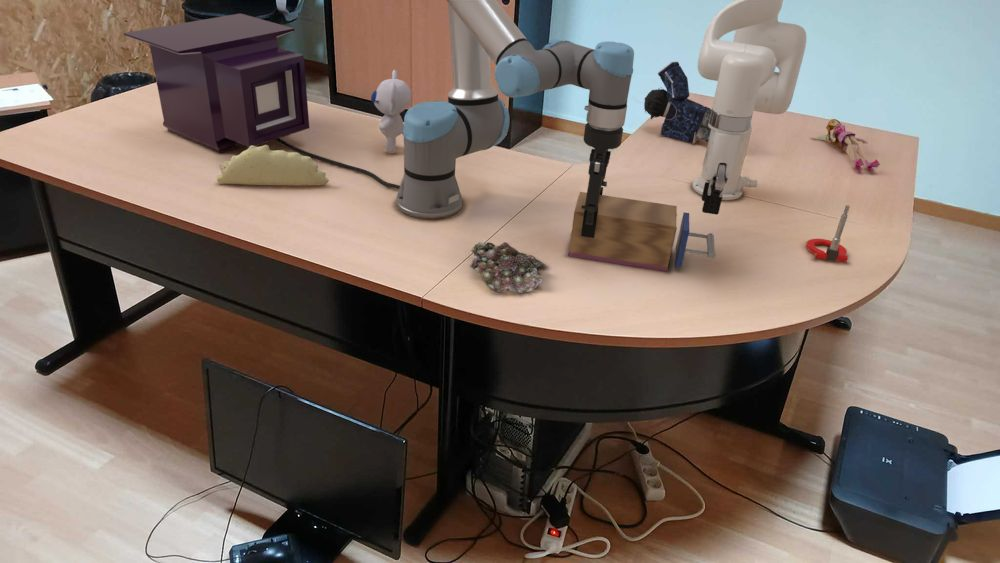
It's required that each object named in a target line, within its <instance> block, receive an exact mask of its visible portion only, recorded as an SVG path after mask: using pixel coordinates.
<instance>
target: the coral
mask: <svg viewBox="0 0 1000 563" xmlns="http://www.w3.org/2000/svg"><path fill="white" fill-rule="evenodd" d="M470 252H472V254H473V260H472V262H471V264H470V265H469V267H470V268H471V269H474V270H475V271H476V272H477V273H478V274H480V275H481V278H482V281H484V284H485V285H486V286H487V287H488V288H489V290H490V291H492V292H494V293H497V294H502V293H504V292H512V293H518V294H522V293H523V294H524V293H526V292H529V293H530V292H532V291H534V290H535V289H536V288H537V287H539V285H541V284H542V283H543V276H542V275H539V274H538V269H537V268H540V267H546V266H547V264H546V263H544V262H542V261H541V260H539V259H537V258H536V257H535V256H533V255H531V254H527V253H524V252H520V251H519V250H518V249H516V248H515V247H512V246H511V245H510V244H509V243H508V242H506V241H503V242H502V243H501V244H500V245H495V243H492V242H483V241H481V242H477V243H476V244H474V245H473V247H471V249H470Z"/></svg>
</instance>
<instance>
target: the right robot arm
mask: <svg viewBox="0 0 1000 563" xmlns="http://www.w3.org/2000/svg"><path fill="white" fill-rule="evenodd" d="M783 2H784V0H733V1H731V2H730V3H728V4H727V5H725V6H724V7H723V8H722V9H721V10H720V11H718V12H717V13H716V14H715V15H714V17H713V18H712V19H711V20H710V22H709V24H708V25H707V28H706V30H705V32H704V36H703V39H702V43H701V47H700V51H699V54H698V59H697V71H698V74H699V75H700V76H701V77H702V78H703V79H706V80H710V81H715V82H716V88H715V91H714V92H715V93H714V97H713V101H712V106H711V114H710V119H709V124H708V126H709V127H710V128H711V132H710V137H709V141H708V142H707V146H706V150H705V154H704V158H703V162H702V169H701V173H700V176H699V177H697V178H695V179H694V180H693V181H692V185H691V186H692V189H693V190H694V192H696V193H697V194H699V195H700V196H701V201H702V202H703V204H702V208H701V212H702V213H703V214H708V215H709V214H710V215H719V213H720V210H721V204H722V202H723V201H734V200H737V199H739V198H741V197H742V196H743V190H744V188H757V186H758V180H757V179H750V176H742V175H741V174H742V170H743V166H744V162H745V157H746V154H747V150H748V146H749V142H750V139H751V134H752V129H753V128H752V118H753V114H754V112H758V113H764V114H771V115H782V114H785V113H786V112H787V111H788V110H789V108H790V106H791V103H792V101H793V97H794V94H795V91H796V86H797V82H798V79H799V74H800V71H801V67H802V63H803V60H804V56H805V51H806V46H807V32H806V30H805V28H804V27H803V26H801V25H798V24H796V23H790V22H782V21H779V20H778V18H779V15H780V14H779V13H780V12H781V10H782V7H783ZM733 31H734V35H733V36H734V37H733V41H730V40H723V39H721V38H722V37H724V36H725V35H727V34H728V33H731V32H733ZM776 68H778V70H779V71H775V70H776Z"/></svg>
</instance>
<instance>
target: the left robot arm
mask: <svg viewBox="0 0 1000 563" xmlns="http://www.w3.org/2000/svg"><path fill="white" fill-rule="evenodd" d="M445 1H446V2H447V5H448V8H447V10H448V21H449V24H448V25H449V37H450V38H449V39H450V51H451V65H452V66H451V67H452V77H453V78H452V82H453V87H452V88H451V90H450V91H449V92H448V93H447V101H448V102H447V101H443V100H433V101H431V100H428V101H423V102H419V103H417V104H414V105H413V106H411V107H409V109H408V110H407V111H406V113H405V114H404V118H403V124H404V127H403V135H402V136H403V176H402V179H401V181H400V184H396V183H391V182H387V181H385V180H383V179H382V178H380V177H379V176H378V175H376V174H375V173H373V172H372V171H369V170H366V169H364V168H361V167H357V166H354V165H350V164H346V163H343V162H340V161H338V160H337V161H336V160H333V159H330V158H327V157H323V156H321V155H318V154H315V153H312V152H310V151H306V150H304V149H302V148H300V147H299V148H298V147H297V146H295V145H292V144H290V143H288V142H286V141H285V140H283V139H281V138H278V139H275V140H274V141H276V142H278V143H279V144H281V145H283V146H285V147H287V148H288V149H291V150H294V152H297V153H299V154H301V155H304V156H308V157H311V158H313V159H316V160H319V161H322V162H325V163H328V164H332V165H335V166H338V167H341V168H345V169H348V170H351V171H356V172H359V173H362V174H365V175H367V176H369V177H371V178H373V179H374V180H375V181H377V182H378V183H380V184H381V185H383V186H385V187H388V188H392V189H396V190H398V191H397V194H396V208H397V209H398V210H399V211H400V212H401V213H403V214H404V215H406V216H409V217H412V218H416V219H421V220H439V219H445V218H449V217H452V216H454V215H456V214H458V213H459V212H460V211H461V210H462V208H463V198H462V193H461V190H460V186H459V183H458V180H457V177H456V159H458V158H461V157H465V156H468V155H471V154H474V153H478V152H481V151H486V150H489V149H491V148H492V147H494V146H497V145H499V144H500V143H502V141H503V140H504V139H505V138H506V136H507V134H508V132H509V129H510V120H511V119H510V113H509V110H508V108H507V107H506V104H505V102H504V100H503V99H501V98H500V97H499V92H501V94H503V95H504V96H506V97H507V98H514V99H515V98H521V97H529V96H532V95H533V94H537V93H540V92H543V91H547V90H552V89H556V88H559V87H564V86H567V85H571V86H575V87H578V88H581V89H585V90H589V93H588V103H587V105H585V106H584V108H583V109H584V111H585V112H586V111H587V112H586V117H585V118H586V119H585V121H586V122H587V123H585V125H584V132H583V142H584V144H585V145H587V146H589V147H592V148H591V150H590V153H589V159H588V160H589V165H588V175H589V177H588V183H587V191H586V193H587V196H586V203H585V206H583V205H582V207H581V208H582V209H585V210H584V217H583V224H582V232H581V236H584V237H590V238H594V235H595V228H596V221H597V214H598V202H599V196H600V195H603V191H604V187H607V185H608V181H605V179H606V175H607V169H608V167H609V164H610V159H611V153H612V151H611V150H615V149H618V148H619V147H621V145H622V141H623V133H624V128H623V127H624V126H625V123H626V117H627V116H626V115H627V112H628V110H627V109H628V100H629V99H628V98H629V93H630V87H631V81H632V77H633V74H634V59H635V51H634V49H633V47H632V46H631V45H629V44H627V43H623V42H616V41H601V42H599V43H597V44H596V45H595V48H594V49H593V48H591V47H587V46H584V45H580V44H578V43H574V42H572V41H570V40H566V39H565V40H563V39H551V40H550V41H548V43H547V44H545V45H544V46H543V47H542V49H538V50H537V49H535V47H534V46H533V45H532V43H531V42H529V40H528V39H527V37H526V36H525V35H524V34H523V32H522V31H521V30H520V28H519V27H518V26H517V25H516V23H515V21H513V20H512V18H511V17H510V16H509V14H508V13H507V11H505V9H504V8H503V7H502V5H501V4H500V3H499V1H498V0H445ZM491 60H492V62H493V63H494V65H496V66H495V69H494V81H496V84H497V88H498V90H499V91H498V90H497V89H496V88H495V87H494V86H493V85H492V75H491V73H492V72H491Z"/></svg>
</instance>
